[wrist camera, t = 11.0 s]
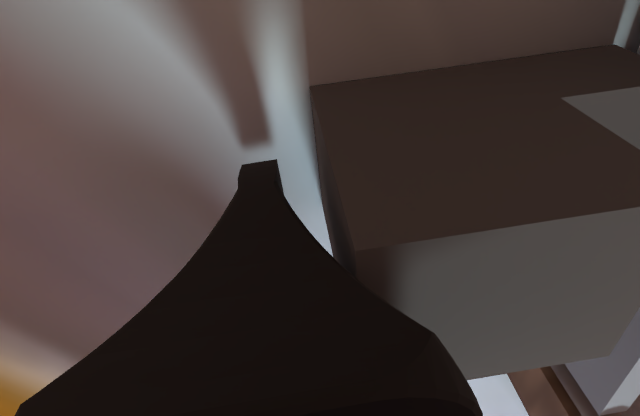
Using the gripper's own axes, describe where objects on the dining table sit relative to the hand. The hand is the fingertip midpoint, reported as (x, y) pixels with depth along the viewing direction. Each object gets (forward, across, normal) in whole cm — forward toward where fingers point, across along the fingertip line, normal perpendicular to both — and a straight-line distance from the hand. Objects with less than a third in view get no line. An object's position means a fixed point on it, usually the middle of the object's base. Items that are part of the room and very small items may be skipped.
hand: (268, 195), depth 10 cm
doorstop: (+1, -5, 0) cm, 6 cm away
